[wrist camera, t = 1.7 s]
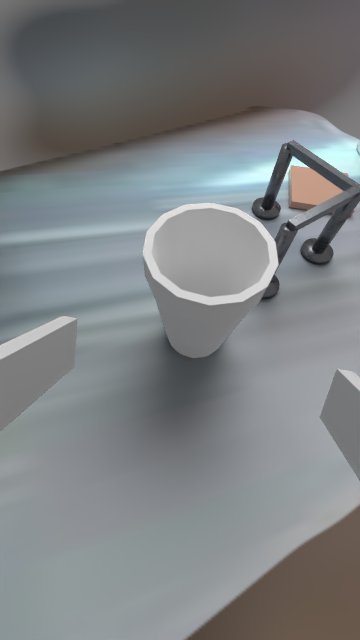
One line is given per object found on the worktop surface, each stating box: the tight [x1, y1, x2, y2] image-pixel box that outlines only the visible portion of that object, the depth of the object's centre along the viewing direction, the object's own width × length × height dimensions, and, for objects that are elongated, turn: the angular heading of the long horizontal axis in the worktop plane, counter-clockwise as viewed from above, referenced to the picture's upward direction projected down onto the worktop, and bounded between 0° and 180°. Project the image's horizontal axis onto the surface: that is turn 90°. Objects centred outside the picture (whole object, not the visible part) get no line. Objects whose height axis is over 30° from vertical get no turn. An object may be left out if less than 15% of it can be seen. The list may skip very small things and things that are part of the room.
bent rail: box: [252, 140, 360, 299], centre depth 33 cm, size 11×18×10 cm, turn 169°
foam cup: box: [143, 203, 279, 358], centre depth 25 cm, size 10×9×13 cm
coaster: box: [289, 165, 354, 216], centre depth 43 cm, size 9×9×1 cm
